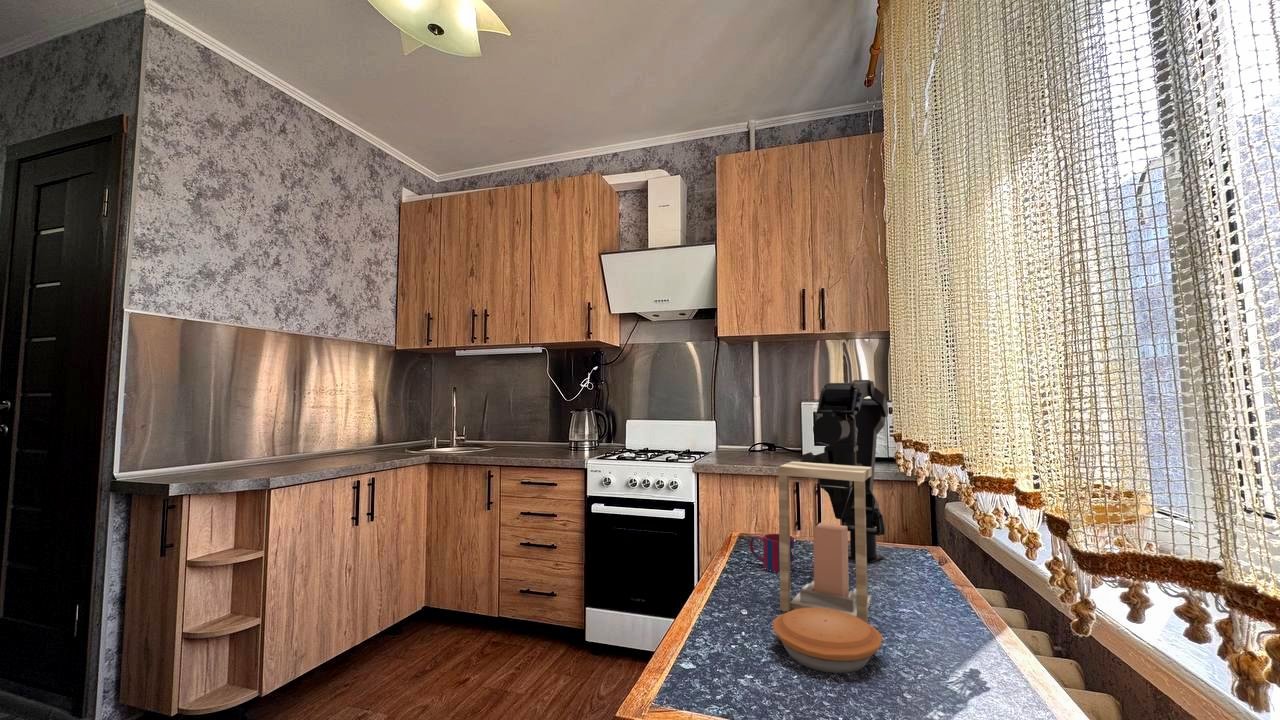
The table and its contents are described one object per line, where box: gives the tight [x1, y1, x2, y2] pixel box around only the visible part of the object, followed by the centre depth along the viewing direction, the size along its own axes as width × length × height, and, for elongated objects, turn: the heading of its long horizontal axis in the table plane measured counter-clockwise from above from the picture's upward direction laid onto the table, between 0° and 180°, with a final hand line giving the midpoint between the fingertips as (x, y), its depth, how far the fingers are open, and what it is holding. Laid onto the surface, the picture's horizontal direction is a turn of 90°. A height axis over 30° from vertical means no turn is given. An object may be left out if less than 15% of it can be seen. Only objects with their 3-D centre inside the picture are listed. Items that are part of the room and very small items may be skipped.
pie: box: [772, 608, 883, 674], centre depth 82 cm, size 15×16×5 cm
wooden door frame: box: [777, 461, 873, 624], centre depth 101 cm, size 14×14×26 cm
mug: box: [749, 533, 796, 573], centre depth 123 cm, size 7×10×7 cm
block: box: [812, 522, 850, 597], centre depth 101 cm, size 5×5×13 cm
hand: (843, 514), depth 116 cm, fingers open, 9 cm apart
